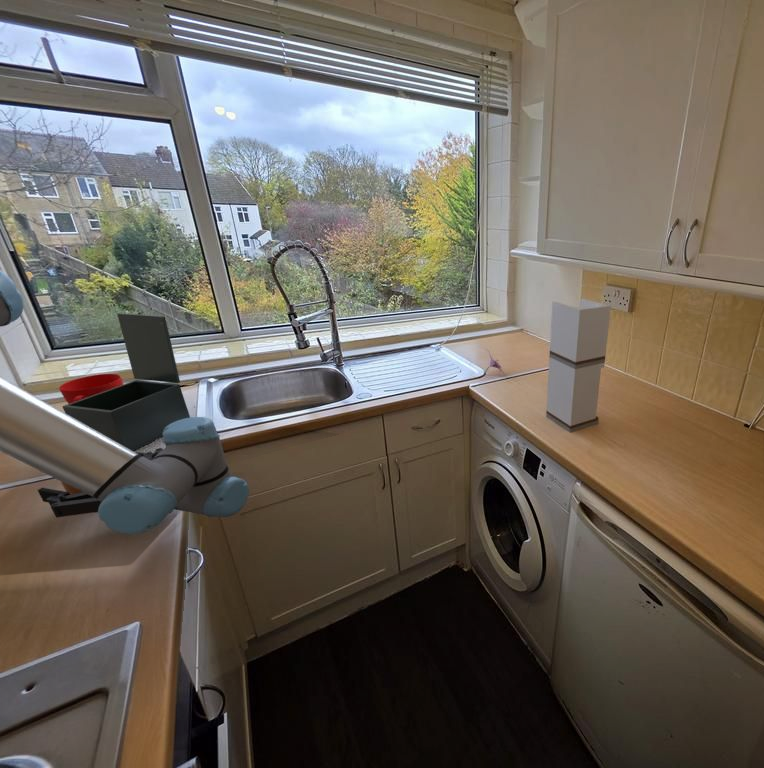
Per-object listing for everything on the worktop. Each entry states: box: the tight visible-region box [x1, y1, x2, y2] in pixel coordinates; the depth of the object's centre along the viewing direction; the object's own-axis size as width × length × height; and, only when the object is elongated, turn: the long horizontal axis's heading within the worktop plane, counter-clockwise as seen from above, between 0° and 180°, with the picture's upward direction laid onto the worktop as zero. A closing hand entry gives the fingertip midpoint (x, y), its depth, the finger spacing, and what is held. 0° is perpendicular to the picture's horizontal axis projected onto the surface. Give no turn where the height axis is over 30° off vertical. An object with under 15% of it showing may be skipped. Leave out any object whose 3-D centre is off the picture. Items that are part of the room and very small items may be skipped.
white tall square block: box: [545, 298, 612, 433], centre depth 115 cm, size 11×11×35 cm
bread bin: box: [62, 379, 191, 452], centre depth 108 cm, size 18×15×12 cm
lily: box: [483, 348, 505, 376], centre depth 154 cm, size 12×12×10 cm
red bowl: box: [58, 373, 124, 404], centre depth 118 cm, size 13×17×10 cm
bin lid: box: [116, 312, 181, 384], centre depth 111 cm, size 18×15×1 cm
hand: (83, 474), depth 84 cm, fingers open, 13 cm apart
